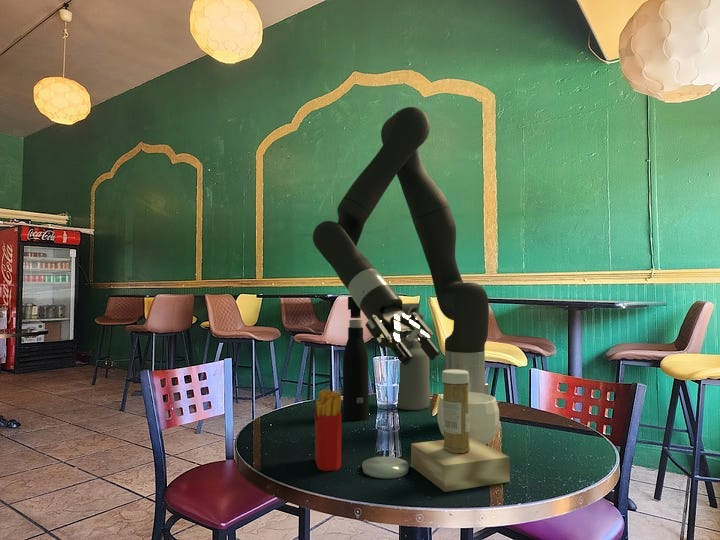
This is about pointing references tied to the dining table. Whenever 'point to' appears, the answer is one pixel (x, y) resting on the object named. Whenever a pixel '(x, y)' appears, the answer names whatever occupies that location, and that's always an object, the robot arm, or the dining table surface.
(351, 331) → the black bottle
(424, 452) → the birch block
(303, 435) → the dining table surface
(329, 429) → the french fries
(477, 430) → the cup
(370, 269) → the robot arm
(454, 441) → the sprinkles bottle
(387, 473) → the pale grey dome
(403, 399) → the water bottle
